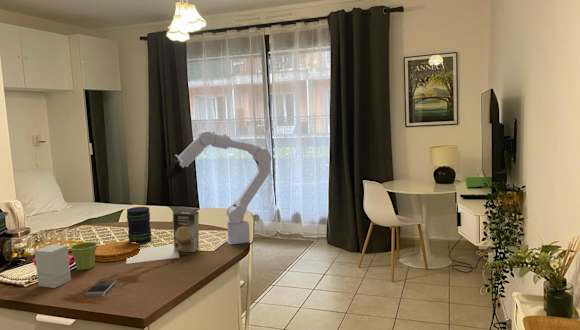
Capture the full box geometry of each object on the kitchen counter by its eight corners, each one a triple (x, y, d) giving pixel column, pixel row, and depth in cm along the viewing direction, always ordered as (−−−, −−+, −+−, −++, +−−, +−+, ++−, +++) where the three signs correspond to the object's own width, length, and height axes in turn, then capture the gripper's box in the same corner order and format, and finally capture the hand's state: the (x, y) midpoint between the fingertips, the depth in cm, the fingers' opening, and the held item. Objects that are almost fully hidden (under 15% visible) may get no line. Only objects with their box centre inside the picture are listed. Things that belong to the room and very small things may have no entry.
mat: (176, 245, 189) (176, 244, 189) (179, 257, 172) (179, 257, 172) (128, 250, 183) (128, 249, 183) (126, 264, 166) (125, 263, 166)
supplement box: (71, 280, 151) (68, 245, 149) (54, 288, 144) (50, 252, 142) (55, 278, 153) (52, 243, 152) (37, 286, 146) (33, 250, 145)
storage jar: (143, 236, 203) (140, 205, 201) (156, 240, 197) (154, 208, 196) (124, 242, 195) (121, 210, 193) (137, 245, 189) (134, 212, 188)
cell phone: (117, 284, 148) (116, 280, 147) (103, 297, 137) (103, 293, 136) (98, 284, 147) (98, 280, 147) (84, 298, 136) (83, 294, 136)
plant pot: (65, 270, 160) (63, 248, 159) (85, 262, 169) (83, 241, 168) (85, 273, 157) (83, 250, 156) (104, 264, 166) (102, 242, 165)
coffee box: (173, 251, 178) (172, 213, 177) (178, 247, 185) (177, 210, 183) (194, 252, 178) (194, 214, 176) (199, 247, 184) (198, 211, 182)
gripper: (182, 145, 188) (160, 167, 186) (185, 148, 174) (160, 172, 172) (194, 156, 190) (172, 178, 188) (197, 160, 176) (174, 184, 174)
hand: (167, 176), depth 180 cm, fingers open, 7 cm apart
